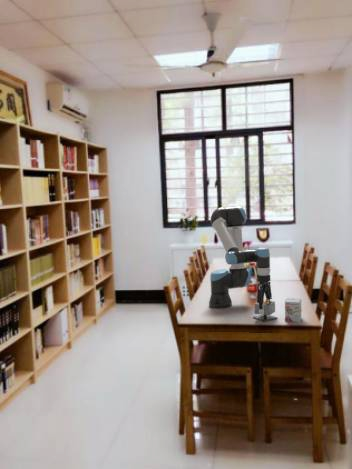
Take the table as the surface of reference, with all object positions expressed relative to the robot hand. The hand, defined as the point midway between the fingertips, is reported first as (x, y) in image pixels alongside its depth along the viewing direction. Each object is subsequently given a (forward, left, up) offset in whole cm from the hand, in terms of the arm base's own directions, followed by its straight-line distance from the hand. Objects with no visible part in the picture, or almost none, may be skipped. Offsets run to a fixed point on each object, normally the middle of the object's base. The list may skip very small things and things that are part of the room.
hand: (265, 312), depth 257 cm
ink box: (+11, +11, -4) cm, 17 cm away
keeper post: (0, 0, -4) cm, 4 cm away
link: (0, 0, 0) cm, 0 cm away
